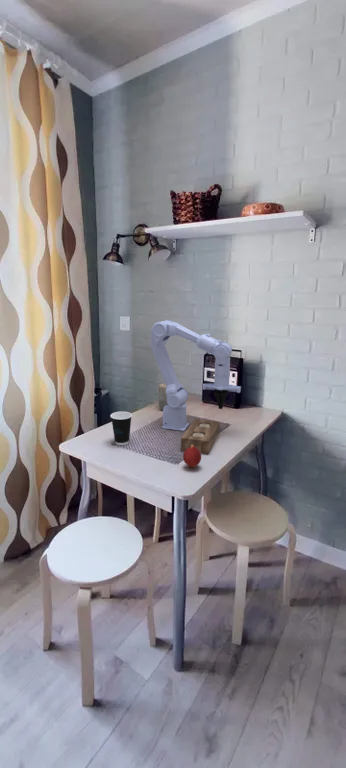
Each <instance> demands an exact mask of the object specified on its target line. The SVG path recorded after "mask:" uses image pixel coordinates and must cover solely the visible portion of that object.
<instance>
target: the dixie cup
mask: <svg viewBox="0 0 346 768" xmlns="http://www.w3.org/2000/svg"><path fill="white" fill-rule="evenodd" d="M132 416H133V414H132V413H131V412H128V411H116V412H112V413H111V414H110V416H109V417H110V419H111V424H112V430H113V431H112V432H113V436H114V437H113V438H114V441H115V445H117V446H127V445H128V444H129V441H130V439H131V438H130V436H131V425H132Z"/></svg>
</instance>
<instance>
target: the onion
mask: <svg viewBox="0 0 346 768" xmlns="http://www.w3.org/2000/svg"><path fill="white" fill-rule="evenodd" d="M182 457H183V458H182V459H183V462H184V463H185V464H186V465H187V466H189V468H190V469H192V468H195V467H196V466H198V465H199V464H200V463H201V461H202V454H201V453H200V451H199V450H198V449H197V448H196V447H194V446H193V445H190V447H189V448H188V449H186V451H183V454H182Z"/></svg>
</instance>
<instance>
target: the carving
mask: <svg viewBox="0 0 346 768" xmlns="http://www.w3.org/2000/svg"><path fill="white" fill-rule="evenodd" d="M157 394H158V398H157V401H158V409H159V410H160V411H163V409H164V406H165V405H168V404H167V395H166V384H165V383H161V384H159V385H158V393H157Z"/></svg>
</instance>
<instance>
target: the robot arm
mask: <svg viewBox="0 0 346 768" xmlns="http://www.w3.org/2000/svg"><path fill="white" fill-rule="evenodd" d="M150 334H151V335H150V349H151V351H152V353H153V355H154V356H153V357H154V358H155V360H156V361H155V362H156V364H157V365H158V368H159V371H160V374H161V376H162V378H163V379H162V380H163V381H164V384H166V395H167V404H168V405H165V406H164V409H163V410H162V427H161V429H165V430H173V431H180V432H181V431H182V432H184V431H185V430H187V429H188V426H190V423H189V422H187V401H188V400H189V392H188V391H187V389H185V387H184V385H183V384H182V383H181V382H179V379H178V376H177V374H176V372H175V369H174V365H173V364H172V360H171V358H170V356H169V353H168V351H167V347H166V344H167V342H168V341H169V338H170V337H172V336H178V337H181V338H184V339H186V340H189V341H191V342H192V343H194V344H196V346H197V348H198V349H199V350H202V351H204V352H206V353H209V354H211V355H213V356H214V358H215V362H214V378H213V379H214V382H213V383H203V384H202V390H209V391H210V390H212V391H213V395H214V397H215V399H216V402H217V406H218V409H219V410H223V408H224V404H225V400H226V398H227V396H228V394H229V393H230V392H234V393H235V392H236V393H238V394H240V393H241V390H242V386H239V385H234V384H233V385H232V384H230V377H231V375H230V374H231V373H230V372H231V355H232V353H233V347H232V345H231V344H230V343H228V342H226V341H223V342H222V340H221V339H219V340H218V339H216V338H214V337H211V334H210V333H207V334H206V333H203V334H198V333H197V332H194V331H193V330H191V329H189V328H187V327H185V326H183V325H182V324H180V323H178V322H176V321H172V320H171V319H165V320H162V321H156V322H155V323H154V324H153V326H152V327H151V329H150Z"/></svg>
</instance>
